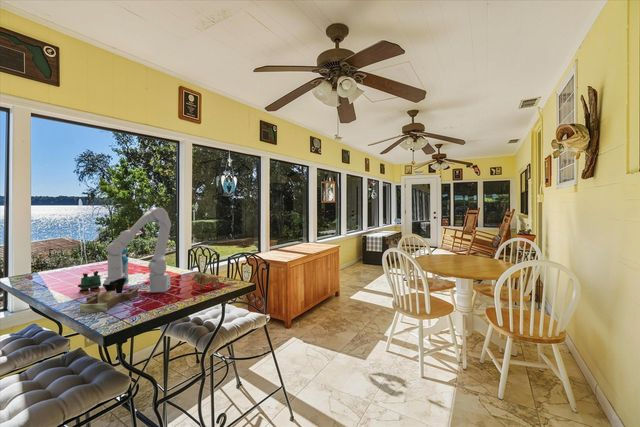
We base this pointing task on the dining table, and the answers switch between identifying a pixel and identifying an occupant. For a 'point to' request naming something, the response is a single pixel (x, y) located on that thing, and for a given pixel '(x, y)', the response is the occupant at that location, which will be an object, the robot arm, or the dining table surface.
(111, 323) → the dining table surface
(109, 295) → the beech block
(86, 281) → the green toy train
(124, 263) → the beverage bottle
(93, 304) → the trap lane
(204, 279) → the lion figurine
